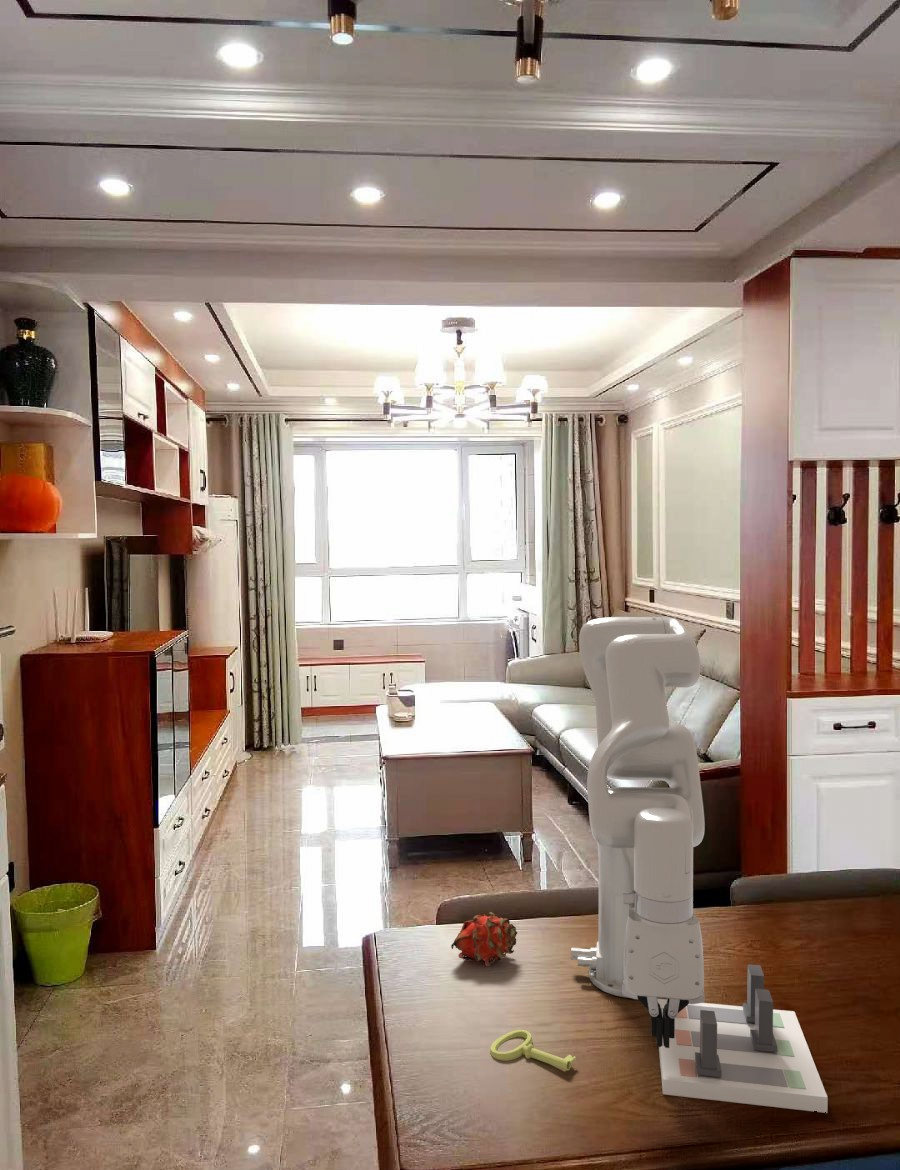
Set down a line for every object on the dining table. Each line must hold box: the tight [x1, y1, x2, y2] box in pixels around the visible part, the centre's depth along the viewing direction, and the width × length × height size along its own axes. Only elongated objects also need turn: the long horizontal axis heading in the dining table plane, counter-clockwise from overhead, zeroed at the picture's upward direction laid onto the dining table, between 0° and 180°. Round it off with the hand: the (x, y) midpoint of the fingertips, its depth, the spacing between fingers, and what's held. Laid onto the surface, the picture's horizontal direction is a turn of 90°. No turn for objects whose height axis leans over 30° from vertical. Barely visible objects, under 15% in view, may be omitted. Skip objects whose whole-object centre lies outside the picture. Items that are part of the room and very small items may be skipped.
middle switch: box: [750, 988, 777, 1052], centre depth 117 cm, size 3×4×7 cm
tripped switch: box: [695, 1010, 722, 1077], centre depth 112 cm, size 3×4×7 cm
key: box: [489, 1029, 577, 1071], centre depth 120 cm, size 7×12×2 cm, turn 68°
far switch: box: [742, 964, 765, 1022], centre depth 124 cm, size 3×4×7 cm
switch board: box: [657, 998, 829, 1114], centre depth 118 cm, size 20×20×2 cm
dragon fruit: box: [450, 911, 519, 967], centre depth 146 cm, size 8×8×12 cm
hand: (662, 1041), depth 113 cm, fingers closed
